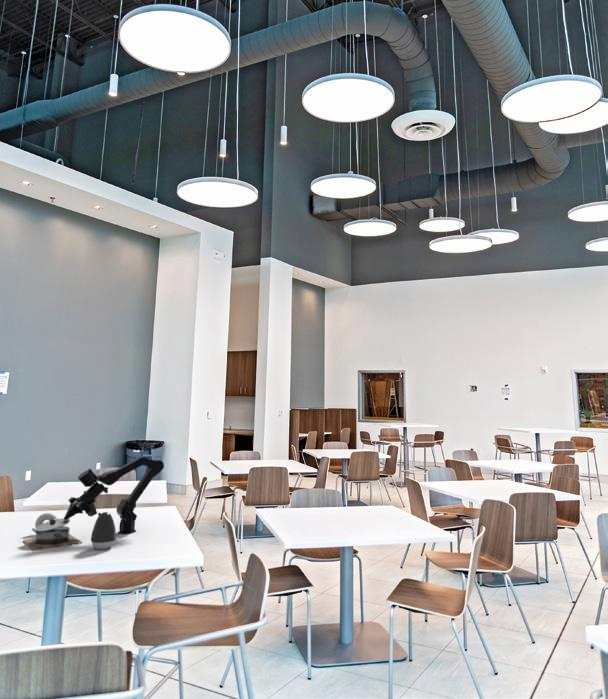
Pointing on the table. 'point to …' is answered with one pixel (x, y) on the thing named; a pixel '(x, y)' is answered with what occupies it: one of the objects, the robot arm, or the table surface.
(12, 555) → the table surface
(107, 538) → the dark grey egg shape
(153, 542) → the table surface
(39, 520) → the donut
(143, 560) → the table surface
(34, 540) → the walnut trivet
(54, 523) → the cooker lid
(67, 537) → the cooking pot
